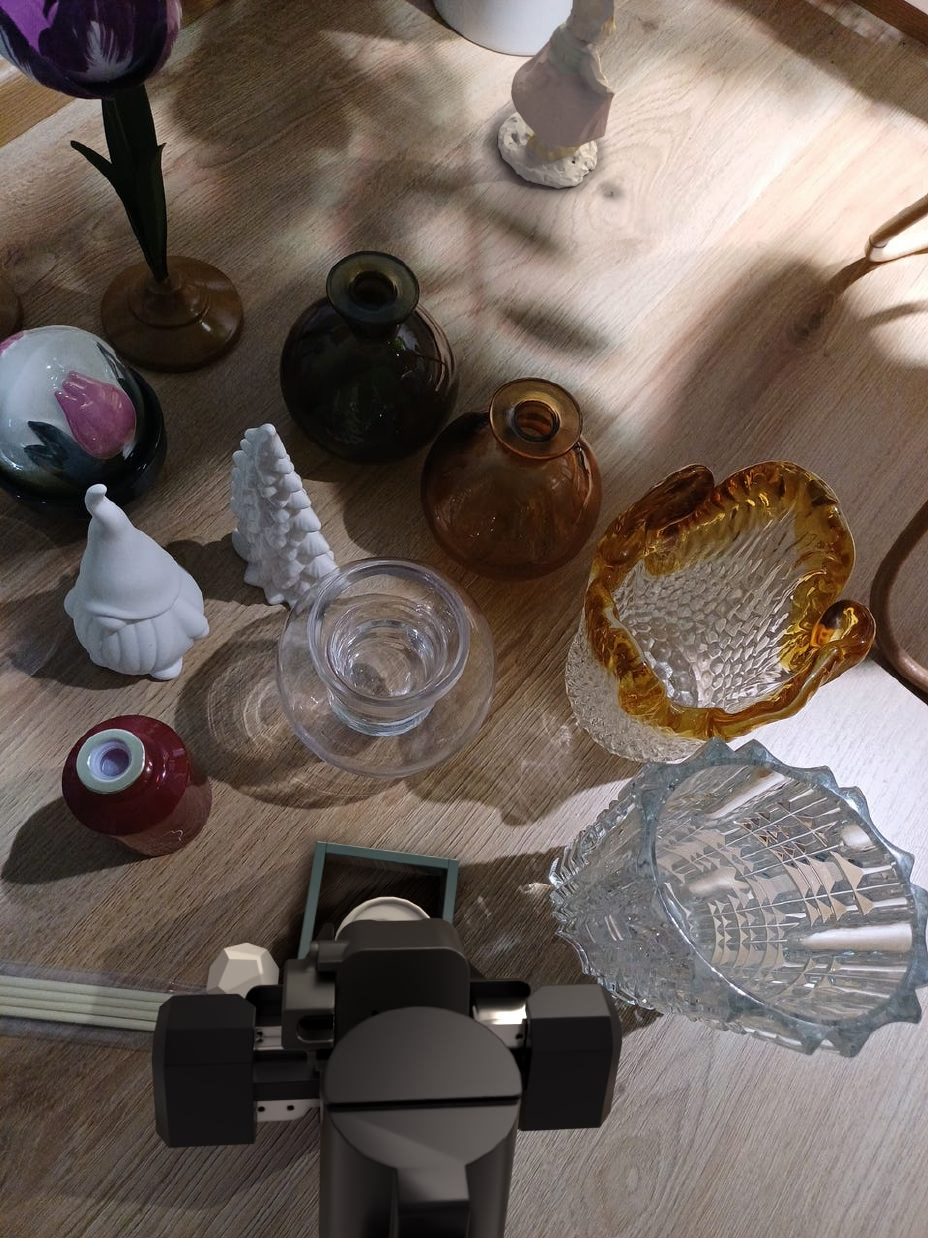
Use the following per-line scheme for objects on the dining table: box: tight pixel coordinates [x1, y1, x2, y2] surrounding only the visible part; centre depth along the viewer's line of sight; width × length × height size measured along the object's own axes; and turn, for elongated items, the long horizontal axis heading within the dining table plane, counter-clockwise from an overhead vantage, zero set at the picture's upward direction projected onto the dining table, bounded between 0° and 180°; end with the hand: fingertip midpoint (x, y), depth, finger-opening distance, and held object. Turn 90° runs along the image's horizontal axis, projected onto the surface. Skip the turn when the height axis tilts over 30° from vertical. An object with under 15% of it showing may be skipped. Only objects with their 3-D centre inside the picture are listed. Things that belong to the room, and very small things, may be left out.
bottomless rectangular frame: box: [296, 840, 460, 959], centre depth 58 cm, size 12×8×4 cm
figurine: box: [497, 0, 617, 196], centre depth 78 cm, size 11×10×15 cm
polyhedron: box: [205, 942, 280, 998], centre depth 57 cm, size 4×4×3 cm
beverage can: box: [334, 896, 431, 940], centre depth 51 cm, size 5×5×12 cm
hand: (382, 929), depth 51 cm, fingers closed on beverage can, 5 cm apart
